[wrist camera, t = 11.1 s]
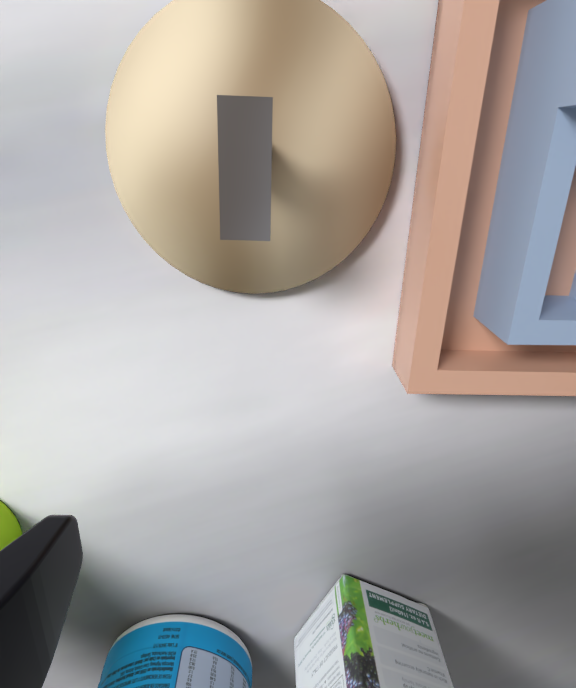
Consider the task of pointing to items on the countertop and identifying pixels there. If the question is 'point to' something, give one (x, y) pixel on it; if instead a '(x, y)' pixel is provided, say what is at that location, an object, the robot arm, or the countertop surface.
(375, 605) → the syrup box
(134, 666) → the blue lidded jar
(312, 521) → the countertop surface
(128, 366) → the countertop surface
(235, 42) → the pot lid
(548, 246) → the blue open frame block
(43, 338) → the countertop surface
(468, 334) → the tray
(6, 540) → the soap dispenser
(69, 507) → the countertop surface
